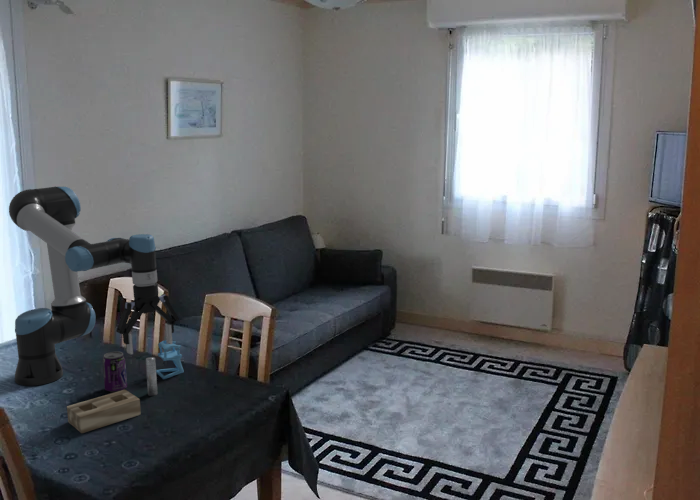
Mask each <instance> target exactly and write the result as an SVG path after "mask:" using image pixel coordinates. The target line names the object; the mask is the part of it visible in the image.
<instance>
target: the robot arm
mask: <svg viewBox="0 0 700 500" xmlns="http://www.w3.org/2000/svg"><path fill="white" fill-rule="evenodd" d="M81 209H82V208H81V202H80V200H79V197H78V195H77V194H76V192H75V191H74V190H73V189H72V188H70V187H68V186H50V187H41V188H33V189H31V188H29V189H25V190H21V191H19V192H18V193H17V194H15V195H14V196H13V197H12V199H11V200H10V203H9V206H8V214H9V217H10V220H11V221H12V222H13V224H15V225H16V227H18V228H19V229H21V230H22V231H26V232H30V233H32V234H33V235H35V236H36V237H37V238H39V239H40V240H42V241H44V242H45V244H46V247H47V253H48V254H47V255H48V261H49V267H50V268H49V269H50V274H51V281H52V288H53V295H54V299H53V301H51V303H50V307H51V309H50V308H48V307H39V308H34V309H29V310H27V311H25V312H22V313H21V314H19V315H18V316H17V317H16V318H15V321H14V333H15V339H16V346H17V347H16V348H17V356H18V360H17V363H16V364H17V366H16V369H15V372H14V382H15V383H16V384H17V385H20V386H25V387H26V386H27V387H30V386H31V387H33V386H41V385H47V384H49V383H53V382H55V381H57V380H59V379H61V378H62V377H63V376H64V371H63V370H64V369H63V366H62V364H61V362H60V360H59V358H58V356H57V354H56V345H57V344H60V343H63V342H67V341H70V340H73V339H77V338H81V337H83V336H86V335H88V334H90V333H91V332H92V330H93V329H95V328H94V327H95V325H96V312H95V309H93V306H92V304H91V303H89V302H87V299H86V298H85V297H84V296H83V295H82V293H81V289H80V280H79V275H78V273H79V272H87V271H90V270H93V269H98V268H102V267H103V268H104V267H108V266H112V265H117V264H123V263H125V264H130V265H131V267H130V268H131V278H132V280H131V281H132V284H133V285H132V291H133V293H132V294H133V301H131V302H129V301H124V306H123V311H122V314H121V316H120V319H119V322H118V325H117V327H116V331H115V332H116V333H118V334H119V335H122V340H123V344H124V345H126V353H127V354H129V355H134V349H133V347H134V346H133V337H132V333H130V332H131V331H132V329H133V328H134V326H135V325H136V323H137V321H138V320H139V319H140V317H141V316H142V315H143V314H148V313H153V312H154V311H155V312H156V313H157V314H158V315H159V316H160V317H161V318H162V319H164V320H165V321H166V323H165V322H164V323H165V325H164V326H165V329H164V330H165V340H166V344H173V343H172V341H173V333H175V328H174V325H175V324H176V322H178V321H179V319H180V317H179V316H178V314H177V313H176V311H175V310H174V307H173V306H172V304H171V303H170V301H169V296H168V295H167V294H165V293H164V294H163V293H162V294H161V295H160V296H159V284H158V283H157V282H158V272H157V271H158V270H157V255H156V254H157V253H156V247H157V246H156V244H155V237H154V236H153V235H152V234H148V233H147V234H146V233H139V234H134V235H133V234H132V235H130V237H129V238H128V239H127V238H123V237H111V238H108V240H107V241H102V242H96V243H90V242H89V241H87V240H86V239H84V238H83V237H81V236H80V235H78V234H77V233H75V232H74V231H73V230H72V229H73V227H74V226H75V225H76V219H77V218H78V217H79V216H80V214H81V213H80V212H81ZM159 303H162V304H163V306H164V308H165V310H166V311H167V313H168V314H169V315H168V314H167V313H166V312H165V311H164V310H163V309H162V308H161V307H160V306H159ZM133 308H134V309H133ZM132 310H133V311H132ZM131 311H132V314H131Z"/></svg>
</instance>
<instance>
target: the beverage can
mask: <svg viewBox="0 0 700 500" xmlns="http://www.w3.org/2000/svg"><path fill="white" fill-rule="evenodd" d="M101 362H102V373H103V384H104V390H105V391H106V392H110V393H115V392H118V391H122V390H126V389H127V387H128V380H127V379H128V378H127V367H126V366H127V365H126V358H125V356H124V352H122V351H110V352H107V353H104V354H103V357H102V361H101Z"/></svg>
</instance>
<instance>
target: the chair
mask: <svg viewBox="0 0 700 500" xmlns="http://www.w3.org/2000/svg"><path fill="white" fill-rule="evenodd" d="M176 342H177V341H174V340H172V343H173V344H169V343H166V339H165V340H162V341H160V342H159V343H158V350H159V353H157V357H159V358H160V359H161V360H162V361H163V362H165V361H167V362H168V361H172V362H173V364H174V365H175V367H172V368H171V367H170V368H163V369H156V375H158V376H159V377H160V378H161V379H162V380H167V379H169V378H172V377H174V376H177V375H181V374H183V373H184V368H183V364H182V361H181V359H183V354H181V353H180V351H181V348H182V344H181V345H180V344H179V345H178V344H176ZM170 349H172V350H170ZM176 349H177V350H176ZM168 350H169V351H168ZM167 372H168V373H169V372H172V373H169V374H165V375H164V374H163V373H167Z"/></svg>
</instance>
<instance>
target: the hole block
mask: <svg viewBox="0 0 700 500" xmlns="http://www.w3.org/2000/svg"><path fill="white" fill-rule="evenodd" d="M141 411H142V410H141V399H140V397H139V398H138V397H137V396H136V395H134V394H132V393H131V392H130V391H128V390H127V389H123V390H121V391H118V392H110V393H108V394H105V395H102V396H98V397H95V398H91V399H88V400H85V401H81V402H80V401H79V402H77V403H74V404H70V405H67V406H66V412H67V423H69V424H70V426H72V427H73V428H75V429H76V430H77V431H78V432H79V433H80V434H84V433H87V432H91V431H95V430H97V429H99V428H103V427H106V426H109V425H113V424H115V423H119V422H122V421H125V420H127V419H132V418H135V417H137V416H140V415H142V414H141V413H142V412H141Z"/></svg>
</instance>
